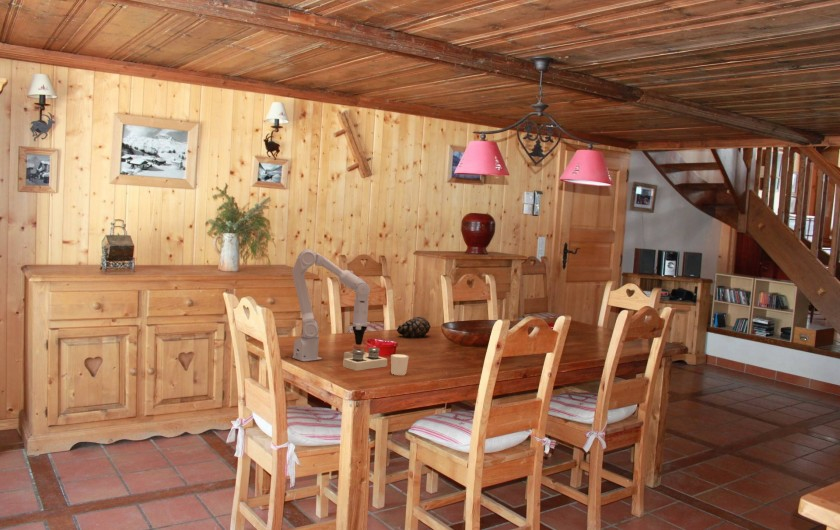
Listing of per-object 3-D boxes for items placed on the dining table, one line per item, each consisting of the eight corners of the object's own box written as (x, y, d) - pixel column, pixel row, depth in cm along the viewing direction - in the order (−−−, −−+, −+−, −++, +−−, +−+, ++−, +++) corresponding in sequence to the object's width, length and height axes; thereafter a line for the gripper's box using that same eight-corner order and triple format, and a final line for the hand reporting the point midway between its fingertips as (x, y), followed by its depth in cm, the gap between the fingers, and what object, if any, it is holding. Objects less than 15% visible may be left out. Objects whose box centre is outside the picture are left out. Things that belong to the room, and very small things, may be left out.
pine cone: (393, 336, 350) (394, 316, 349) (418, 334, 363) (419, 314, 362) (408, 340, 343) (410, 320, 342) (433, 337, 356) (435, 317, 355)
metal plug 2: (372, 361, 281) (373, 350, 281) (365, 358, 284) (365, 347, 284) (381, 360, 284) (382, 349, 284) (373, 357, 288) (374, 346, 287)
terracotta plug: (357, 356, 288) (357, 345, 287) (349, 354, 291) (350, 343, 291) (365, 355, 291) (366, 344, 291) (358, 353, 294) (359, 342, 294)
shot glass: (407, 372, 278) (408, 354, 277) (407, 376, 271) (409, 358, 270) (389, 371, 277) (391, 353, 277) (389, 375, 270) (390, 356, 270)
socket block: (356, 370, 273) (356, 363, 273) (327, 361, 285) (328, 354, 285) (386, 366, 285) (387, 359, 284) (358, 357, 297) (359, 350, 297)
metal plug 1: (357, 363, 275) (357, 352, 275) (349, 360, 279) (350, 349, 278) (366, 362, 279) (366, 351, 278) (358, 359, 282) (359, 348, 282)
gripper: (369, 314, 282) (367, 348, 283) (371, 309, 297) (369, 341, 298) (351, 313, 282) (349, 347, 283) (354, 308, 297) (352, 340, 298)
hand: (358, 344), depth 291 cm, fingers closed, pressing on terracotta plug
